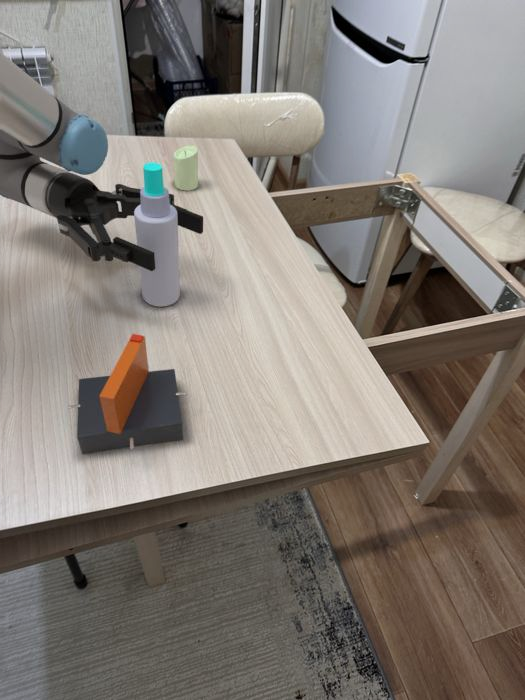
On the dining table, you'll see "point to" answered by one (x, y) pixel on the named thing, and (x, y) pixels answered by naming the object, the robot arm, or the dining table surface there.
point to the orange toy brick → (124, 384)
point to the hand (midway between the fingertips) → (179, 242)
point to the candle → (186, 168)
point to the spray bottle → (158, 239)
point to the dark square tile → (131, 414)
